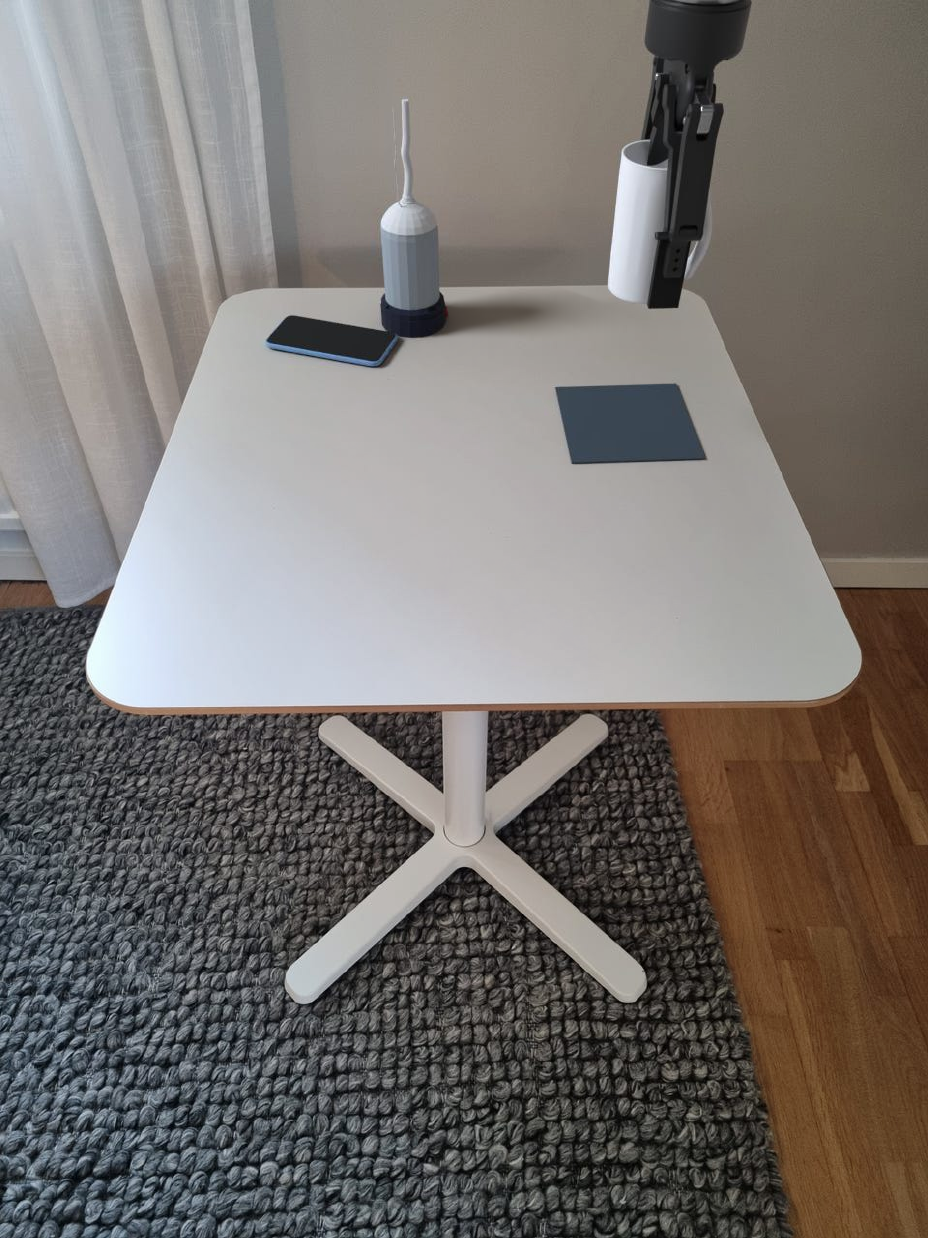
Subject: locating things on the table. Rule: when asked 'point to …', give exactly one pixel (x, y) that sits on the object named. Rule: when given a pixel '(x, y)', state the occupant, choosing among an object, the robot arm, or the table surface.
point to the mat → (627, 424)
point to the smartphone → (332, 340)
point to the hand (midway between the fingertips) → (652, 282)
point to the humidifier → (410, 259)
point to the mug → (643, 225)
